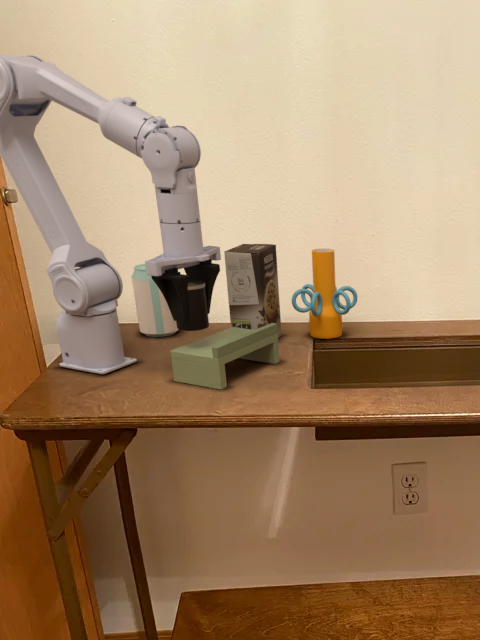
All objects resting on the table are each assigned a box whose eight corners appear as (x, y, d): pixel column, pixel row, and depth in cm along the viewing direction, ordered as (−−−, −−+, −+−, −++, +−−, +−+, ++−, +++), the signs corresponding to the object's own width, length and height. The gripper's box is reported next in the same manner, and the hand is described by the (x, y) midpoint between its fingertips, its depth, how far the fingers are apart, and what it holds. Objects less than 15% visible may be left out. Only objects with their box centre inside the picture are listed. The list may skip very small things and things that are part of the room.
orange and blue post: (350, 325, 154) (348, 244, 146) (365, 340, 145) (364, 253, 138) (288, 330, 150) (283, 247, 143) (299, 345, 142) (294, 257, 134)
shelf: (174, 381, 124) (168, 340, 120) (235, 354, 136) (231, 317, 133) (221, 389, 120) (217, 347, 117) (279, 361, 133) (277, 323, 130)
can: (140, 329, 150) (130, 263, 144) (178, 327, 151) (170, 261, 146) (140, 339, 144) (129, 270, 138) (180, 336, 146) (171, 268, 140)
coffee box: (266, 348, 139) (258, 252, 131) (231, 346, 140) (222, 250, 132) (283, 335, 147) (277, 243, 139) (250, 333, 148) (242, 241, 140)
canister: (169, 328, 120) (163, 284, 117) (190, 321, 124) (185, 278, 121) (195, 332, 119) (190, 288, 115) (216, 325, 122) (211, 281, 119)
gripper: (168, 230, 107) (181, 331, 114) (233, 217, 118) (241, 309, 125) (127, 226, 109) (142, 325, 116) (195, 214, 121) (205, 304, 128)
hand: (191, 316), depth 121 cm, fingers closed on canister, 5 cm apart
